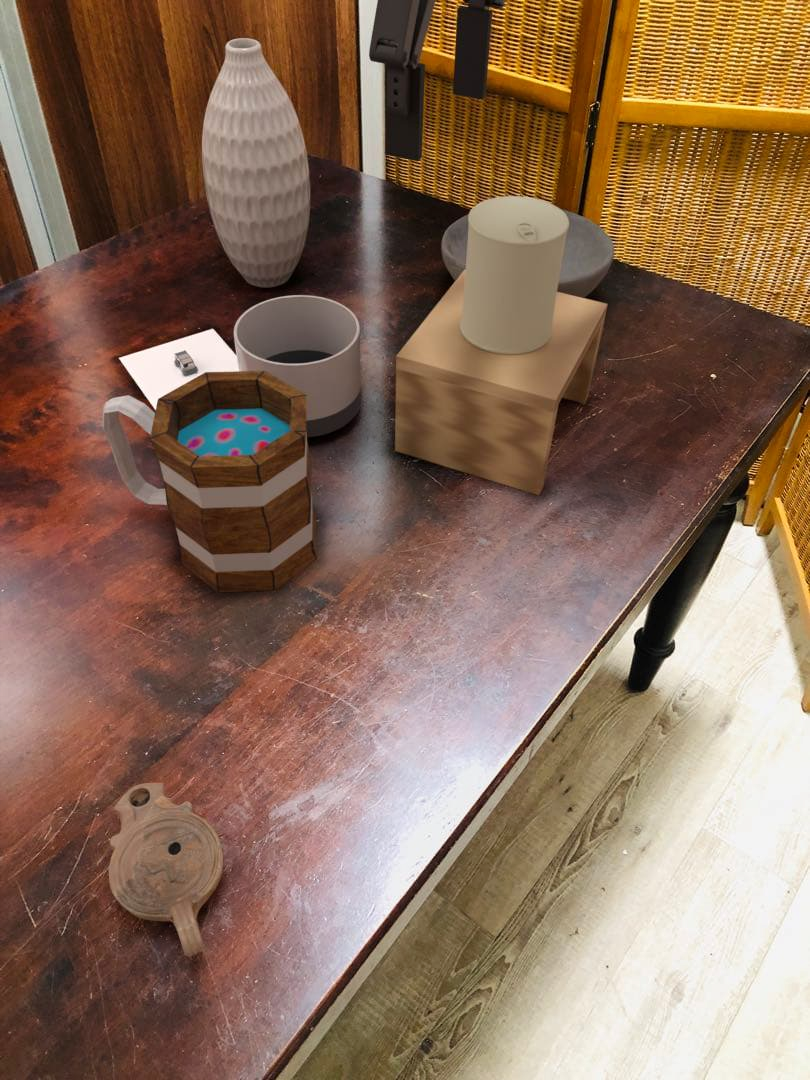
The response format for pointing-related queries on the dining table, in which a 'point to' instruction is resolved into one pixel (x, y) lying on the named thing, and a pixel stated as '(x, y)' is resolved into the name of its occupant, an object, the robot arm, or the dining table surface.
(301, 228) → the vase
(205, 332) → the white paper sheet
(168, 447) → the mug
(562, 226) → the can
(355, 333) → the planter
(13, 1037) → the dining table surface
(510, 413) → the shelf
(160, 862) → the oil lamp
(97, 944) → the dining table surface
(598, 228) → the bowl
